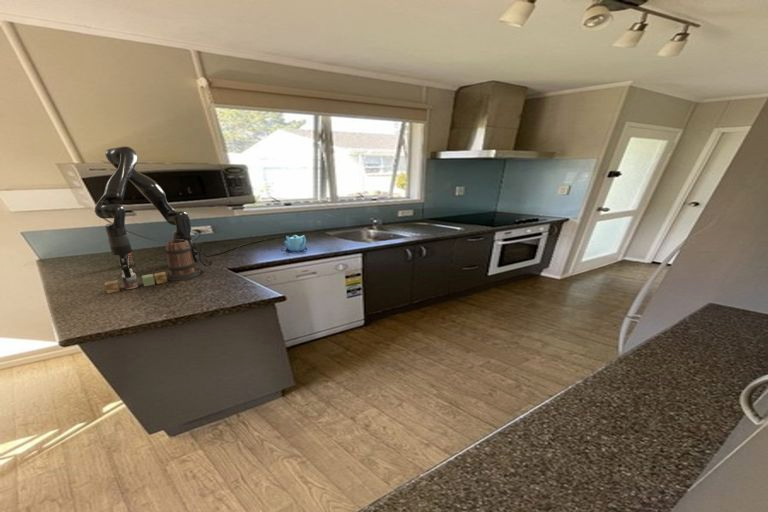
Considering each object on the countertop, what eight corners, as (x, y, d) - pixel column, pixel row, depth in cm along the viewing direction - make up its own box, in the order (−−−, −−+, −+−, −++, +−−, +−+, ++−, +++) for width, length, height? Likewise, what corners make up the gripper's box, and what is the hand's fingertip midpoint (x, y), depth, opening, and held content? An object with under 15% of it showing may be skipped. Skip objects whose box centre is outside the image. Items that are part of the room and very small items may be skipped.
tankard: (167, 282, 154) (159, 247, 148) (164, 273, 166) (156, 240, 160) (216, 272, 169) (210, 240, 163) (209, 265, 181) (204, 234, 174)
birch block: (120, 288, 147) (117, 279, 145) (119, 291, 144) (117, 282, 142) (108, 290, 144) (105, 282, 143) (107, 293, 141) (104, 285, 139)
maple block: (166, 279, 159) (165, 271, 157) (167, 281, 155) (165, 274, 154) (156, 281, 156) (154, 273, 154) (156, 284, 152) (154, 276, 151)
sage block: (154, 281, 155) (152, 273, 154) (155, 284, 152) (153, 276, 151) (144, 283, 153) (141, 275, 151) (144, 286, 149) (141, 278, 148)
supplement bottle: (126, 267, 174) (121, 250, 170) (118, 266, 175) (113, 249, 171) (136, 264, 180) (131, 247, 176) (128, 263, 181) (124, 246, 177)
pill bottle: (124, 287, 148) (118, 269, 145) (137, 284, 152) (132, 267, 149) (126, 290, 144) (121, 272, 141) (139, 287, 148) (135, 269, 145)
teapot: (306, 251, 211) (305, 237, 208) (285, 252, 208) (283, 238, 204) (306, 245, 225) (306, 232, 222) (287, 246, 222) (285, 233, 219)
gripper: (129, 246, 138) (138, 277, 143) (130, 239, 148) (138, 268, 153) (108, 248, 133) (118, 280, 138) (110, 242, 144) (119, 272, 149)
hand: (128, 274), depth 146 cm, fingers open, 8 cm apart
